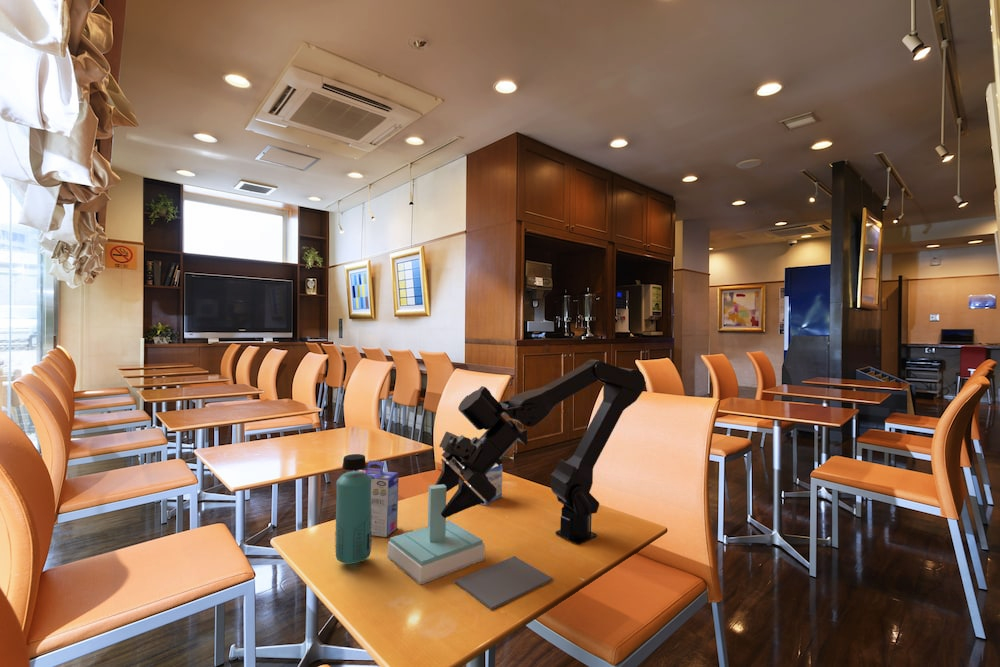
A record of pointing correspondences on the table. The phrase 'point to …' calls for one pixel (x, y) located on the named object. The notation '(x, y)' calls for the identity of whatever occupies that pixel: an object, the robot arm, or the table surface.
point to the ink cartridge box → (383, 499)
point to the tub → (435, 563)
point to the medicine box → (495, 481)
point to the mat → (503, 582)
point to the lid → (435, 534)
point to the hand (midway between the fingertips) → (436, 506)
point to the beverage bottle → (353, 512)
